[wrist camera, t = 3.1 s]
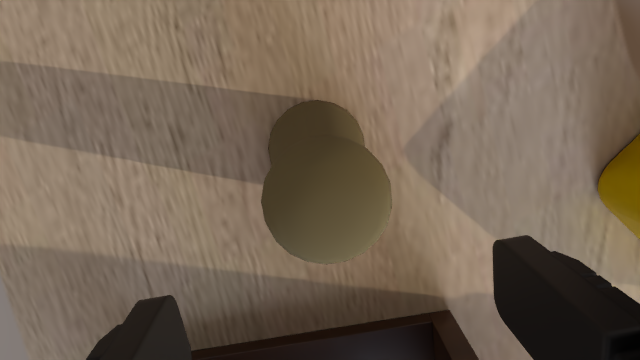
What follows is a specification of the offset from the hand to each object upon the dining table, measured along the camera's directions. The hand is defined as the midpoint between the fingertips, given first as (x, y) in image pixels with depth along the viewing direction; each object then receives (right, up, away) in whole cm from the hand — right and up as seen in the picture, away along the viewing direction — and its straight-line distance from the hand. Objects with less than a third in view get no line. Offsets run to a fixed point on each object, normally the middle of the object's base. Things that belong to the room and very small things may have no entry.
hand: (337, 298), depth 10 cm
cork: (-1, +5, +15) cm, 16 cm away
